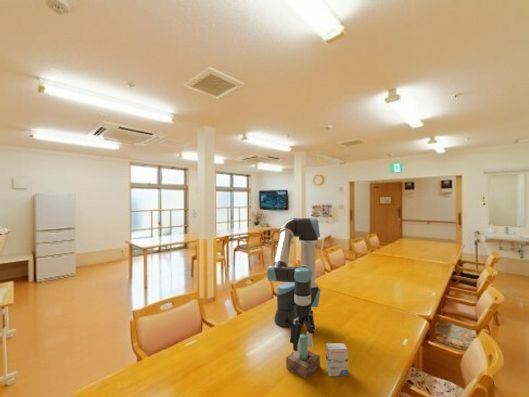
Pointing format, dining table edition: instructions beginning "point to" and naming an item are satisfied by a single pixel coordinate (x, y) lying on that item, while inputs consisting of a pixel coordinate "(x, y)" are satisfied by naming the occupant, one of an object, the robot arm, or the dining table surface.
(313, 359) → the socket block
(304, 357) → the peg
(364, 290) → the dining table surface
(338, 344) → the ink box
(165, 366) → the dining table surface
